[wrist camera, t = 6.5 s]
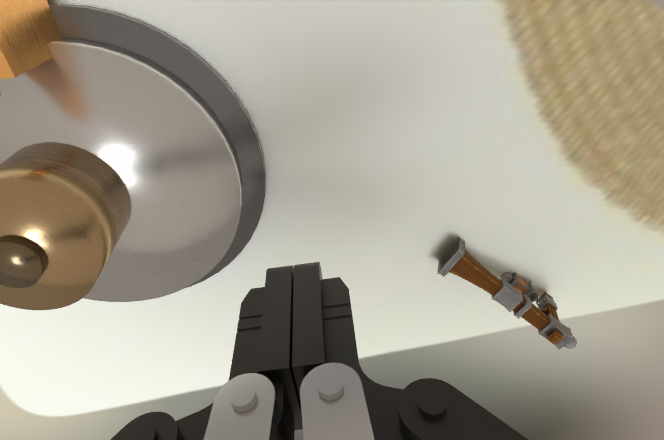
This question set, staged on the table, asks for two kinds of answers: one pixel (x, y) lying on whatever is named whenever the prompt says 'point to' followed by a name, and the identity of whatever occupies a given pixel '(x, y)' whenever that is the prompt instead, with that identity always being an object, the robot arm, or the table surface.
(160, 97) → the silver disc with handle
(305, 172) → the table surface
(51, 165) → the cover
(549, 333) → the toy blunderbuss
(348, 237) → the table surface
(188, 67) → the base plate
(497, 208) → the table surface
